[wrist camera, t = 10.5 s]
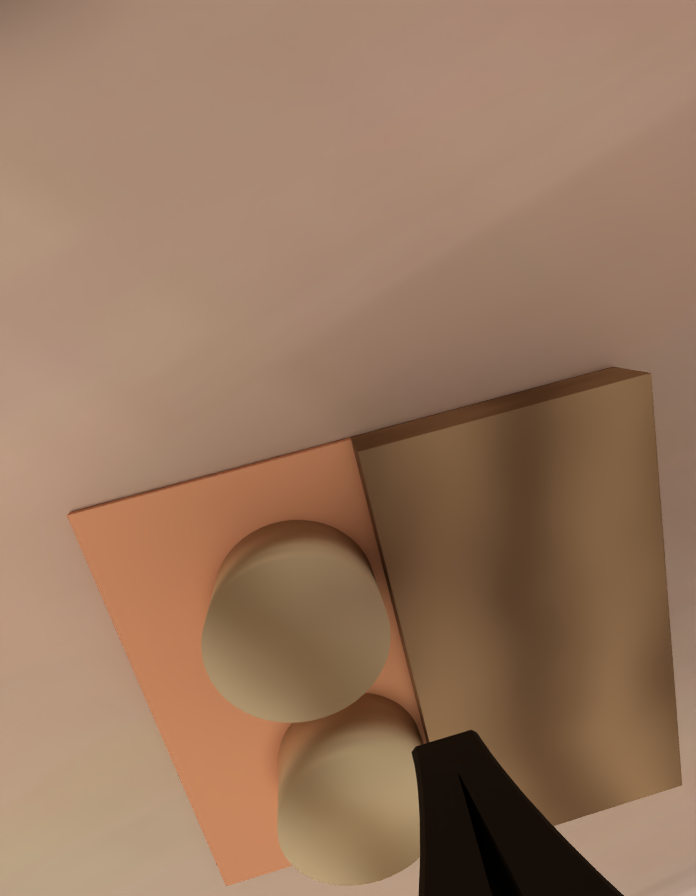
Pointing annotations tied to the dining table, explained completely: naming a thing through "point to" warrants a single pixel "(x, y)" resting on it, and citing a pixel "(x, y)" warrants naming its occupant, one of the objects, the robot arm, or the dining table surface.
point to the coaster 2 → (350, 793)
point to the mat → (183, 616)
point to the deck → (536, 584)
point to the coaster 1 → (295, 623)
